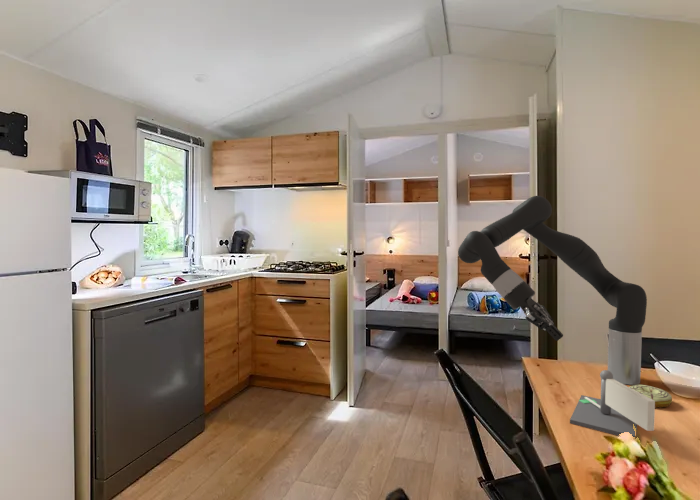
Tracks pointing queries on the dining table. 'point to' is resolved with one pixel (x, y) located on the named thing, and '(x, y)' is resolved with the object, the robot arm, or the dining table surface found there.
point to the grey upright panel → (625, 402)
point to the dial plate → (600, 418)
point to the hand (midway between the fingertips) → (560, 338)
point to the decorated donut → (654, 394)
